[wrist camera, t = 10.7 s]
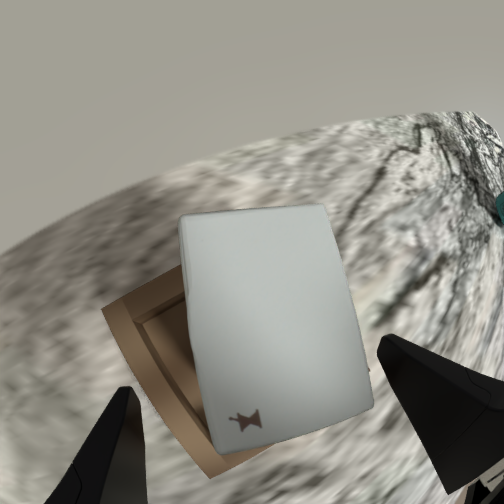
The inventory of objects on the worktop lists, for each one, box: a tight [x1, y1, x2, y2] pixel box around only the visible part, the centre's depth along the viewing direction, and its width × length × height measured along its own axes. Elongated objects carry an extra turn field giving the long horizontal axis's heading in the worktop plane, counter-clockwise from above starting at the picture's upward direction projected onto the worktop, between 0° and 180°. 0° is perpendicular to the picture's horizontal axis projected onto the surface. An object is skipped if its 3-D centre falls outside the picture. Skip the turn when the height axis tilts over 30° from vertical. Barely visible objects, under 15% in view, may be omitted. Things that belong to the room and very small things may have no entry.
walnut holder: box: [101, 265, 370, 479], centre depth 16 cm, size 12×12×4 cm
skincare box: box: [178, 204, 374, 455], centre depth 12 cm, size 6×4×12 cm
